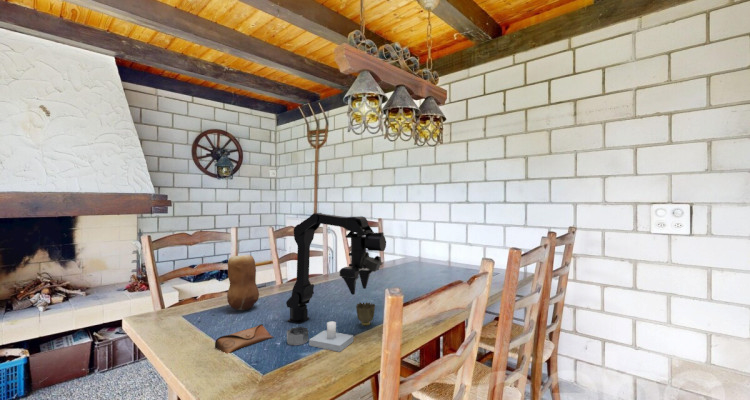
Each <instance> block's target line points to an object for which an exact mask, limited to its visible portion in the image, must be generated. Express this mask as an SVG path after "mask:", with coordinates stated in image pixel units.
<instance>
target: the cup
mask: <svg viewBox="0 0 750 400" xmlns="http://www.w3.org/2000/svg"><path fill="white" fill-rule="evenodd" d="M355 307H356V309H355V310H356V314H357V315H356V316H357V319H358V321H359V322H360V324H361V326H363V327H369V326H370V325H371V322H372V321H373V320H374V316H375V310H376V309H375V308H376V305H375V303H372V302H371V303H370V302H367V301H366V302H359V303H356V305H355Z"/></svg>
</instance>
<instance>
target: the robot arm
mask: <svg viewBox="0 0 750 400" xmlns="http://www.w3.org/2000/svg"><path fill="white" fill-rule="evenodd" d="M321 224H322V225H328V226H333V227H339V228H343V229H344V230H346V231H348V233H347V234H346V235H345V238H347V239H350V252H348V256H349V257H350V263H349V264H348V266H345V267H342V268H341V269H339V277H341V278H342V279H343V280H344V282H345V285H346V286H347V288H348V290H349V292H350V294H351V295H356V284H357V280H358V279H360V283H361V287H362V289H363V290H364V289H365V290H366V289H367V286H368V282H369V279H370V276H371V274H372V273H373V272H374V273H375V272H376V271H379V270H380V267H381V266H382V265H383V263H382V258H381V256H379V255H376V256H375V257H372V256H370V253H369V252H368V251H372V252H384V251H385V250H386V249H387V248H386V247H387V240H386V237H385V233H384V232H382V231H380V232H374V231H373V229H372V228H371V226H370V225H369V223H368V220H367V218H366V217H365V216H362V215H360V216H346V217H345V216H339V215H334V214H326V213H322V212H314V213H312V214H311V215H309V217H308V218H306V219H305V220H302V221H301V222H300V223H299V224H297V225H295V226H294V227H293V239H294V242H295V243H296V245H297V254H296V255H297V257H296V280H295V283H294V284H293V286H292V289H291V290H292V291H291V296H290V297H289V298H288V299H287V301H286V303H285V304H286V307H287V308H289V319H287V322H290V323H295V324H301V323H303V322H306V321H307V320H309V319H310V317H309V316H308V315H309V313H308V312H309V311H308V304H309V303H310V301H311V299H312V297H313V296H314V295H313V294H315V292H314V287H315V285H314V284H313V283H311V281H310V254H311V253H310V252H311V251H310V250H311V244H312V242H313V241H314V237H315V231H316V230H318V229H319V227H320V226H321Z"/></svg>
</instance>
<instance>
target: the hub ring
mask: <svg viewBox="0 0 750 400" xmlns="http://www.w3.org/2000/svg"><path fill="white" fill-rule="evenodd" d="M307 342H308V343H309V329H308V328H307V327H304V326H297V327H291V328H290V329H288V330H286V343H287V345H289V346H299V345H300V346H301V345H305V344H306V343H307Z"/></svg>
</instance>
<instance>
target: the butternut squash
mask: <svg viewBox="0 0 750 400" xmlns="http://www.w3.org/2000/svg"><path fill="white" fill-rule="evenodd" d="M256 274H257V269H256V261H255V258H254V257H253V256H252V255H251V254H244V255H233V256H230V258H228V260H227V276H228V280H229V287H228V290H227V293H226V297H227V298H226V299H227V303H228V305H229V306H230V308H233V309H235V310H237V311H249V310H250V309H251V308H252V307H253V306H254V305H255V304H256V303H257V302H258V301H259V298H260V291H259V288H258V286H257V282H256V276H257V275H256Z"/></svg>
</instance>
